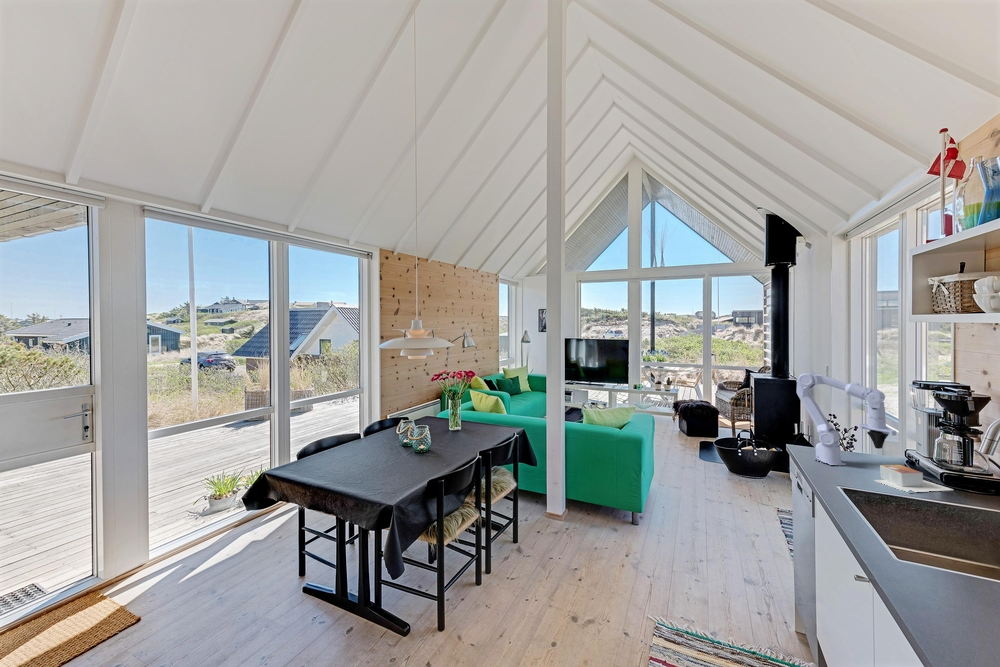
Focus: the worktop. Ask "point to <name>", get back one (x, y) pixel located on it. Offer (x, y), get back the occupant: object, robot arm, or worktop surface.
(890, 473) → the small box
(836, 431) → the robot arm
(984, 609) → the worktop surface
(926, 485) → the mat
